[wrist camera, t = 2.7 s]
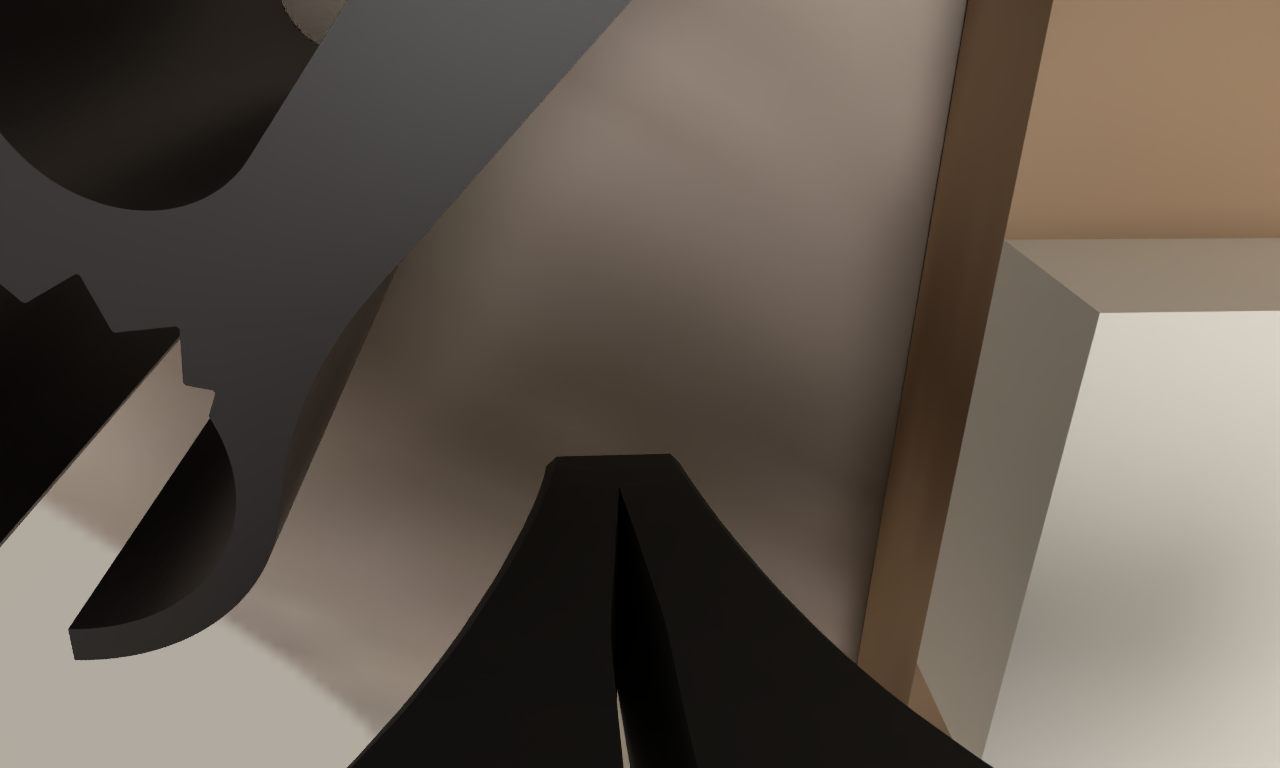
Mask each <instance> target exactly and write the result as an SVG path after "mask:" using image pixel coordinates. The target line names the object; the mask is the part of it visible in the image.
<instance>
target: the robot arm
mask: <svg viewBox="0 0 1280 768" xmlns="http://www.w3.org/2000/svg"><path fill="white" fill-rule="evenodd" d="M617 690H618V696H619V702H620V708H621V714H622V720H623V726H624V732H625V738H626V744H627V750H628V756H629V762H630V768H993V767H992V766H990V765H989V764H987V763H986V762H984V761H983V760H981V759H980V758H978V757H977V756H976V755H974V754H973V753H971V752H970V751H969V750H967V749H966V748H964V747H963V746H962V745H960V744H959V743H957V742H956V741H955V740H953V739H952V738H950V737H949V736H948V735H946V734H945V733H944V732H942V731H941V730H939V729H938V728H937V727H935V726H934V725H932V724H931V723H930V722H928V721H927V720H925V719H924V718H923V717H921V716H920V715H918V714H917V713H916V712H914V711H913V710H912V709H911V708H909V707H908V706H907V705H905V704H904V703H903V702H901V701H900V700H899V699H898V698H896V697H895V696H894V695H892V694H891V693H890V692H889V691H887V690H886V689H885V688H884V687H882V686H881V685H880V684H879V683H878V682H876V681H875V680H874V679H873V678H872V677H871V676H869V675H868V674H867V673H866V672H865V671H864V670H862V669H861V668H860V667H859V666H858V665H857V664H855V663H854V662H853V661H852V660H851V659H849V658H848V657H847V656H846V655H845V654H844V653H843V652H842V651H841V650H839V649H838V648H837V647H836V646H835V645H834V644H833V643H832V642H831V641H830V640H829V639H828V638H827V637H826V636H824V635H823V634H822V633H821V632H820V631H819V630H818V629H817V628H816V627H815V626H814V625H813V624H812V623H811V622H810V621H809V620H808V619H807V618H806V617H805V616H804V615H803V614H802V613H801V612H800V611H799V610H798V609H797V608H796V607H795V606H794V605H793V604H792V603H791V601H790V600H789V599H788V598H787V597H786V596H785V595H784V594H783V593H782V592H781V591H780V590H779V589H778V588H777V587H776V586H775V584H774V583H773V582H772V581H771V580H770V579H769V578H768V577H767V576H766V575H765V574H764V572H763V571H762V570H761V569H760V568H759V567H758V565H757V564H756V563H755V562H754V561H753V560H752V558H751V557H750V556H749V555H748V554H747V552H746V551H745V550H744V549H743V548H742V547H741V545H740V544H739V543H738V542H737V541H736V540H735V538H734V537H733V536H732V535H731V533H730V532H729V531H728V530H727V528H726V527H725V526H724V525H723V523H722V522H721V521H720V520H719V518H718V517H717V516H716V514H715V513H714V512H713V510H712V509H711V508H710V506H709V505H708V504H707V502H706V501H705V500H704V498H703V497H702V496H701V494H700V493H699V491H698V490H697V489H696V487H695V486H694V484H693V483H692V481H691V480H690V478H689V477H688V475H687V474H686V472H685V471H684V469H683V468H682V466H681V465H680V463H679V462H678V461H677V460H676V459H675V458H674V457H673V456H672V455H671V454H644V455H604V456H564V457H556V458H555V459H554V460H553V461H552V462H550V463H549V464H548V465H547V466H546V470H545V475H544V479H543V482H542V485H541V488H540V490H539V493H538V496H537V498H536V500H535V503H534V505H533V507H532V510H531V512H530V514H529V516H528V518H527V520H526V522H525V525H524V527H523V529H522V531H521V532H520V534H519V536H518V538H517V540H516V542H515V544H514V545H513V547H512V549H511V551H510V553H509V555H508V556H507V558H506V560H505V562H504V564H503V566H502V567H501V569H500V571H499V573H498V574H497V576H496V578H495V579H494V581H493V583H492V584H491V586H490V587H489V589H488V590H487V592H486V593H485V595H484V596H483V598H482V599H481V601H480V603H479V604H478V606H477V607H476V609H475V610H474V612H473V613H472V615H471V616H470V618H469V619H468V621H467V622H466V624H465V626H464V627H463V629H462V630H461V632H460V633H459V634H458V636H457V637H456V639H455V640H454V641H453V643H452V644H451V645H450V647H449V648H448V650H447V651H446V652H445V654H444V655H443V656H442V658H441V659H440V660H439V662H438V663H437V664H436V666H435V667H434V668H433V669H432V671H431V672H430V673H429V675H428V676H427V677H426V678H425V680H424V681H423V682H422V683H421V684H420V686H419V687H418V688H417V689H416V691H415V692H414V693H413V694H412V696H411V697H410V698H409V699H408V701H407V702H406V703H405V704H404V705H403V706H402V708H401V709H400V710H399V711H398V712H397V713H396V714H395V716H394V717H393V718H392V719H391V720H390V721H389V722H388V723H387V724H386V726H385V727H384V728H383V729H382V730H381V731H380V732H379V733H378V734H377V736H376V737H375V738H374V739H373V740H372V741H371V742H370V743H369V744H368V746H367V747H366V748H365V749H364V750H363V751H362V752H361V753H360V754H359V756H358V757H357V758H356V759H355V760H354V761H353V762H352V763H351V764H350V765H349V766H348V767H347V768H623V758H622V749H621V739H620V729H619V720H618V710H617Z"/></svg>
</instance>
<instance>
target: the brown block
mask: <svg viewBox="0 0 1280 768" xmlns="http://www.w3.org/2000/svg"><path fill="white" fill-rule="evenodd" d="M1194 238H1280V0H968V5H967V11H966V17H965V23H964V29H963V35H962V41H961V47H960V53H959V59H958V65H957V71H956V77H955V83H954V89H953V95H952V101H951V106H950V112H949V118H948V124H947V130H946V136H945V142H944V148H943V154H942V160H941V166H940V172H939V178H938V184H937V190H936V196H935V202H934V208H933V214H932V220H931V226H930V232H929V238H928V244H927V250H926V256H925V262H924V268H923V274H922V280H921V286H920V291H919V297H918V303H917V309H916V315H915V321H914V327H913V333H912V339H911V345H910V351H909V357H908V363H907V369H906V375H905V381H904V387H903V393H902V399H901V405H900V411H899V417H898V423H897V429H896V435H895V441H894V447H893V453H892V459H891V465H890V471H889V476H888V482H887V488H886V494H885V500H884V506H883V512H882V518H881V524H880V530H879V536H878V542H877V548H876V554H875V560H874V566H873V572H872V578H871V584H870V590H869V596H868V602H867V608H866V614H865V620H864V626H863V632H862V638H861V644H860V650H859V656H858V662H857V665H858V666H859V667H860V668H861V669H862V670H864V671H865V672H866V673H867V674H868V675H869V676H871V677H872V678H873V679H874V680H875V681H876V682H878V683H879V684H880V685H881V686H882V687H884V688H885V689H886V690H887V691H889V692H890V693H891V694H892V695H894V696H895V697H896V698H898V699H899V700H900V701H901V702H903V703H904V704H905V705H907V706H908V707H909V708H911V709H912V710H913V711H914V712H916V713H917V714H918V715H920V716H921V717H923V718H924V719H925V720H927V721H928V722H930V723H931V724H932V725H934V726H935V727H937V728H938V729H939V730H941V731H942V732H944V733H945V734H946V735H948V736H949V737H950V738H952V737H951V735H950V733H949V731H948V729H947V726H946V724H945V722H944V720H943V718H942V716H941V714H940V711H939V709H938V707H937V705H936V703H935V701H934V699H933V697H932V694H931V692H930V690H929V688H928V686H927V684H926V682H925V680H924V677H923V675H922V673H921V671H920V669H919V667H918V665H917V659H918V654H919V649H920V644H921V639H922V634H923V630H924V625H925V620H926V615H927V610H928V605H929V600H930V596H931V591H932V586H933V581H934V576H935V571H936V567H937V562H938V557H939V552H940V547H941V542H942V537H943V533H944V528H945V523H946V518H947V513H948V508H949V504H950V499H951V494H952V489H953V484H954V479H955V474H956V470H957V465H958V460H959V455H960V450H961V445H962V440H963V436H964V431H965V426H966V421H967V416H968V411H969V407H970V402H971V397H972V392H973V387H974V382H975V377H976V373H977V368H978V363H979V358H980V353H981V348H982V343H983V339H984V334H985V329H986V324H987V319H988V314H989V310H990V305H991V300H992V295H993V290H994V285H995V280H996V276H997V271H998V266H999V261H1000V256H1001V251H1002V247H1003V242H1004V240H1034V239H1194Z"/></svg>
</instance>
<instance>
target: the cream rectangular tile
mask: <svg viewBox="0 0 1280 768" xmlns="http://www.w3.org/2000/svg"><path fill="white" fill-rule="evenodd" d="M917 665H918V667H919V669H920V671H921V673H922V675H923V677H924V680H925V682H926V684H927V686H928V688H929V690H930V692H931V694H932V697H933V699H934V701H935V703H936V705H937V707H938V709H939V711H940V714H941V716H942V718H943V720H944V722H945V724H946V726H947V729H948V731H949V733H950V735H951V737H952V739H953V740H955V741H956V742H957V743H959V744H960V745H962V746H963V747H964V748H966V749H967V750H969V751H970V752H971V753H973V754H974V755H976V756H977V757H978V758H980V759H981V760H983V761H984V762H986V763H987V764H989V765H990V766H992V767H993V768H1280V238H1194V239H1034V240H1004V242H1003V247H1002V251H1001V256H1000V261H999V266H998V271H997V276H996V280H995V285H994V290H993V295H992V300H991V305H990V310H989V314H988V319H987V324H986V329H985V334H984V339H983V343H982V348H981V353H980V358H979V363H978V368H977V373H976V377H975V382H974V387H973V392H972V397H971V402H970V407H969V411H968V416H967V421H966V426H965V431H964V436H963V440H962V445H961V450H960V455H959V460H958V465H957V470H956V474H955V479H954V484H953V489H952V494H951V499H950V504H949V508H948V513H947V518H946V523H945V528H944V533H943V537H942V542H941V547H940V552H939V557H938V562H937V567H936V571H935V576H934V581H933V586H932V591H931V596H930V600H929V605H928V610H927V615H926V620H925V625H924V630H923V634H922V639H921V644H920V649H919V654H918V659H917Z"/></svg>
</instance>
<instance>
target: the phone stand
mask: <svg viewBox="0 0 1280 768" xmlns="http://www.w3.org/2000/svg"><path fill="white" fill-rule="evenodd" d="M630 1H631V0H347V2H346V3H345V5H344V6H343V8H342V10H341V11H340V13H339V14H338V16H337V18H336V19H335V21H334V23H333V24H332V26H331V27H330V29H329V31H328V32H327V34H326V35H325V37H324V39H323V40H322V42H321V43H320V45H317V44H315V43H314V42H312V41H311V40H310V39H308V38H307V37H306V36H305V35H304V34H303V33H301V32H300V30H299V29H298V28H297V27H296V26H295V25H294V24H293V22H292V21H291V20H290V18H289V17H288V15H287V13H286V12H285V10H284V8H283V6H282V3H281V1H280V0H0V547H1V546H2V544H3V543H4V542H5V541H6V540H7V539H8V537H9V536H10V535H11V534H12V533H13V531H15V529H16V528H17V527H18V525H20V523H21V522H22V521H23V520H24V519H25V518H26V517H27V515H28V514H29V513H30V512H31V511H32V510H33V508H34V507H35V506H36V505H37V504H38V503H39V502H40V500H41V499H42V498H43V497H44V496H45V495H46V493H47V492H48V491H49V490H50V489H51V488H52V486H53V485H54V484H55V483H56V482H57V481H58V479H59V478H60V477H61V476H62V475H63V474H64V473H65V471H66V470H67V469H68V468H69V467H70V466H71V464H72V463H73V462H74V461H75V460H76V459H77V457H78V456H79V455H80V454H81V453H82V452H83V450H84V449H85V448H86V447H87V446H88V445H89V444H90V442H91V441H92V440H93V439H94V438H95V437H96V435H97V434H98V433H99V432H100V431H101V430H102V428H103V427H104V426H105V425H106V424H107V423H108V421H109V420H110V419H111V418H112V417H113V416H114V415H115V413H116V412H117V411H118V410H119V409H120V408H121V406H122V405H123V404H124V403H125V402H126V401H127V399H128V398H129V397H130V396H131V395H132V394H133V392H134V391H135V390H136V389H137V388H138V387H139V386H140V384H141V383H142V382H143V381H144V380H145V379H146V377H147V376H148V375H149V374H150V373H151V372H152V370H153V369H154V368H155V367H156V366H157V365H158V363H159V362H160V361H161V360H162V359H163V358H164V357H165V355H166V354H167V353H168V352H169V351H170V350H171V348H172V347H173V346H174V345H175V344H176V343H177V341H178V340H179V339H180V341H181V356H182V370H183V383H184V384H185V385H187V386H193V387H198V388H203V389H209V390H213V391H214V392H215V397H214V400H213V404H212V407H211V411H210V414H209V417H210V419H209V420H208V422H207V423H206V425H205V426H204V428H203V429H202V431H201V432H200V434H199V435H198V437H197V438H196V440H195V441H194V443H193V444H192V446H191V447H190V449H189V450H188V452H187V453H186V455H185V456H184V458H183V459H182V461H181V462H180V464H179V465H178V467H177V468H176V470H175V471H174V473H173V474H172V475H171V477H170V478H169V480H168V481H167V483H166V484H165V486H164V487H163V489H162V490H161V492H160V493H159V495H158V496H157V498H156V499H155V501H154V502H153V504H152V505H151V507H150V508H149V510H148V511H147V513H146V514H145V516H144V517H143V519H142V520H141V522H140V523H139V525H138V526H137V528H136V529H135V531H134V532H133V534H132V535H131V537H130V538H129V539H128V541H127V542H126V544H125V545H124V547H123V548H122V550H121V551H120V553H119V554H118V556H117V557H116V559H115V560H114V562H113V563H112V565H111V566H110V568H109V569H108V571H107V572H106V574H105V575H104V577H103V578H102V580H101V581H100V583H99V584H98V586H97V587H96V589H95V590H94V592H93V593H92V595H91V596H90V598H89V599H88V601H87V602H86V604H85V605H84V607H83V608H82V609H81V611H80V612H79V614H78V615H77V617H76V618H75V620H74V622H73V623H72V625H71V626H70V627H69V629H68V630H69V635H70V640H71V645H72V649H73V654H74V659H75V660H95V659H110V658H119V657H126V656H132V655H137V654H142V653H146V652H150V651H154V650H157V649H160V648H163V647H166V646H169V645H172V644H175V643H177V642H180V641H182V640H184V639H187V638H189V637H191V636H193V635H195V634H197V633H199V632H200V631H202V630H204V629H206V628H207V627H209V626H210V625H212V624H214V623H215V622H216V621H218V620H219V619H221V618H222V617H223V616H224V615H226V614H227V613H228V612H229V611H230V610H232V609H233V608H234V607H235V606H236V605H237V604H238V603H239V602H240V601H241V600H242V599H243V598H244V597H245V595H246V594H247V593H248V592H249V591H250V589H251V588H252V587H253V585H254V584H255V583H256V581H257V579H258V578H259V576H260V575H261V573H262V571H263V569H264V568H265V566H266V564H267V561H268V559H269V557H270V555H271V552H272V550H273V548H274V546H275V543H276V541H277V539H278V536H279V534H280V532H281V530H282V527H283V525H284V523H285V521H286V518H287V516H288V514H289V511H290V509H291V507H292V505H293V502H294V500H295V498H296V496H297V493H298V491H299V489H300V486H301V484H302V482H303V480H304V477H305V475H306V473H307V470H308V468H309V466H310V464H311V461H312V459H313V457H314V455H315V452H316V450H317V448H318V445H319V443H320V441H321V439H322V436H323V434H324V432H325V430H326V427H327V425H328V423H329V420H330V418H331V416H332V414H333V411H334V409H335V407H336V404H337V402H338V400H339V398H340V395H341V393H342V391H343V389H344V386H345V384H346V382H347V379H348V377H349V375H350V373H351V370H352V368H353V366H354V363H355V361H356V359H357V357H358V354H359V352H360V350H361V348H362V345H363V343H364V341H365V338H366V336H367V334H368V332H369V329H370V327H371V325H372V323H373V320H374V318H375V316H376V313H377V311H378V309H379V307H380V304H381V302H382V300H383V297H384V295H385V293H386V291H387V288H388V286H389V284H390V282H391V279H392V277H393V275H394V272H395V270H396V268H397V266H398V264H399V263H400V261H401V260H402V259H403V258H404V257H405V256H406V255H407V254H408V252H409V251H410V250H411V249H412V248H413V247H414V246H415V244H416V243H417V242H418V241H419V240H420V239H421V238H422V237H423V235H424V234H425V233H426V232H427V231H428V230H429V229H430V227H431V226H432V225H433V224H434V223H435V222H436V221H437V220H438V218H439V217H440V216H441V215H442V214H443V213H444V212H445V211H446V209H447V208H448V207H449V206H450V205H451V204H452V203H453V201H454V200H455V199H456V198H457V197H458V196H459V195H460V194H461V192H462V191H463V190H464V189H465V188H466V187H467V186H468V184H469V183H470V182H471V181H472V180H473V179H474V178H475V177H476V175H477V174H478V173H479V172H480V171H481V170H482V169H483V167H484V166H485V165H486V164H487V163H488V162H489V161H490V160H491V158H492V157H493V156H494V155H495V154H496V153H497V152H498V150H499V149H500V148H501V147H502V146H503V145H504V144H505V143H506V141H507V140H508V139H509V138H510V137H511V136H512V135H513V133H514V132H515V131H516V130H517V129H518V128H519V127H520V126H521V124H522V123H523V122H524V121H525V120H526V119H527V118H528V116H529V115H530V114H531V113H532V112H533V111H534V110H535V109H536V107H537V106H538V105H539V104H540V103H541V102H542V101H543V99H544V98H545V97H546V96H547V95H548V94H549V93H550V92H551V90H552V89H553V88H554V87H555V86H556V85H557V84H558V82H559V81H560V80H561V79H562V78H563V77H564V76H565V75H566V73H567V72H568V71H569V70H570V69H571V68H572V67H573V66H574V64H575V63H576V62H577V61H578V60H579V59H580V58H581V56H582V55H583V54H584V53H585V52H586V51H587V50H588V49H589V47H590V46H591V45H592V44H593V43H594V42H595V41H596V39H597V38H598V37H599V36H600V35H601V34H602V33H603V32H604V30H605V29H606V28H607V27H608V26H609V25H610V24H611V22H612V21H613V20H614V19H615V18H616V17H617V16H618V15H619V13H620V12H621V11H622V10H623V9H624V8H625V7H626V5H627V4H628V3H629V2H630Z"/></svg>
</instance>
